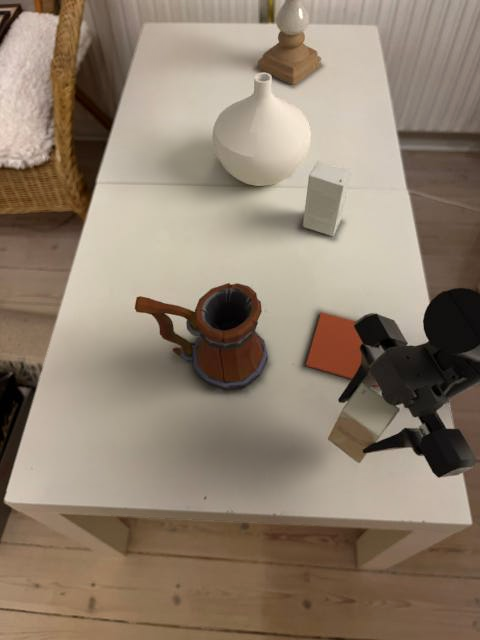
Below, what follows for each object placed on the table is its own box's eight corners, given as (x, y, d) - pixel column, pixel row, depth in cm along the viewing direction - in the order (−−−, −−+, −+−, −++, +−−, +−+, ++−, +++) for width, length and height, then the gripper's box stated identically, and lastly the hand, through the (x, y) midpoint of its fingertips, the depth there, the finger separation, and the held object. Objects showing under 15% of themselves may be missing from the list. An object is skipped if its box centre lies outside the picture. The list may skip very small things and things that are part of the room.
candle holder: (321, 65, 116) (336, -53, 96) (293, 85, 112) (302, -33, 92) (285, 48, 120) (292, -68, 100) (256, 68, 116) (258, -50, 96)
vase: (321, 186, 95) (337, 96, 78) (232, 211, 91) (229, 122, 75) (285, 130, 104) (291, 38, 88) (203, 151, 101) (194, 60, 84)
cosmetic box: (340, 221, 90) (352, 169, 80) (333, 237, 88) (344, 186, 78) (309, 211, 91) (317, 159, 81) (301, 227, 89) (308, 175, 79)
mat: (388, 331, 77) (389, 330, 77) (377, 386, 72) (378, 385, 72) (320, 313, 79) (321, 312, 79) (305, 366, 74) (305, 364, 74)
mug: (144, 384, 73) (121, 334, 60) (159, 319, 79) (142, 261, 66) (263, 396, 72) (267, 347, 59) (270, 329, 78) (274, 272, 65)
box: (326, 439, 63) (339, 407, 54) (345, 415, 65) (360, 380, 56) (361, 465, 61) (380, 437, 52) (379, 440, 63) (401, 408, 54)
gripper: (388, 266, 49) (280, 351, 56) (498, 439, 39) (349, 512, 47) (433, 290, 57) (333, 361, 64) (534, 439, 47) (402, 502, 55)
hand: (351, 425), depth 57 cm, fingers closed on box, 6 cm apart
